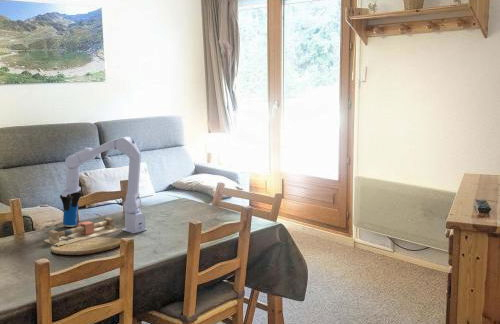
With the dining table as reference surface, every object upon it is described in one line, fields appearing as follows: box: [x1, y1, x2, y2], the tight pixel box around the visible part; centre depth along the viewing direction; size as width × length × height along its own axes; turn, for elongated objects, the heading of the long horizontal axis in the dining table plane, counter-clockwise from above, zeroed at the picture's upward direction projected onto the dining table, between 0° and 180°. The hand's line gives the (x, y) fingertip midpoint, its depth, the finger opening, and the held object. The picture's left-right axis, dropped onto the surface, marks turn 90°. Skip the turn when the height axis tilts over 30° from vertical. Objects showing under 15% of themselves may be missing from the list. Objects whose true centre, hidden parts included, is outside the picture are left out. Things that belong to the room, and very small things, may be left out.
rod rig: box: [43, 216, 120, 245], centre depth 224 cm, size 30×12×5 cm, turn 140°
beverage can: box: [62, 203, 79, 228], centre depth 239 cm, size 6×6×12 cm
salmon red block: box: [77, 220, 95, 235], centre depth 226 cm, size 4×7×5 cm, turn 50°
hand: (70, 208), depth 232 cm, fingers open, 7 cm apart
